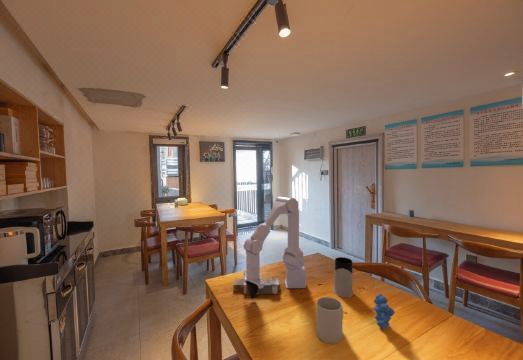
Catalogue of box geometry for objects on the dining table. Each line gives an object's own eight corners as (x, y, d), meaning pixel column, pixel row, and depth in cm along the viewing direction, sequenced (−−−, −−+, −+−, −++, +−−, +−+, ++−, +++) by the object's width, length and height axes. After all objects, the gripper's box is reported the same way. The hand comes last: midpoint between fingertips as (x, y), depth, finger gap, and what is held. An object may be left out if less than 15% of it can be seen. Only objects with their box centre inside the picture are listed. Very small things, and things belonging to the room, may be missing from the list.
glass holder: (332, 295, 105) (332, 262, 105) (335, 281, 118) (335, 252, 118) (353, 298, 102) (353, 265, 101) (353, 284, 115) (353, 254, 115)
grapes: (401, 340, 77) (401, 304, 76) (379, 337, 78) (379, 302, 78) (389, 318, 88) (389, 287, 88) (370, 316, 90) (370, 285, 89)
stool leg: (277, 290, 109) (277, 282, 108) (277, 294, 106) (277, 285, 105) (244, 290, 109) (244, 281, 109) (243, 293, 106) (243, 285, 106)
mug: (340, 347, 74) (340, 313, 74) (313, 338, 78) (313, 306, 77) (345, 325, 85) (345, 295, 84) (321, 318, 88) (322, 290, 88)
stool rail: (279, 285, 115) (279, 275, 114) (281, 295, 105) (281, 284, 105) (234, 285, 115) (234, 275, 114) (232, 295, 105) (232, 284, 105)
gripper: (237, 262, 104) (237, 292, 105) (252, 275, 92) (252, 308, 92) (251, 259, 108) (251, 288, 108) (267, 271, 95) (268, 303, 96)
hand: (253, 297), depth 101 cm, fingers closed
